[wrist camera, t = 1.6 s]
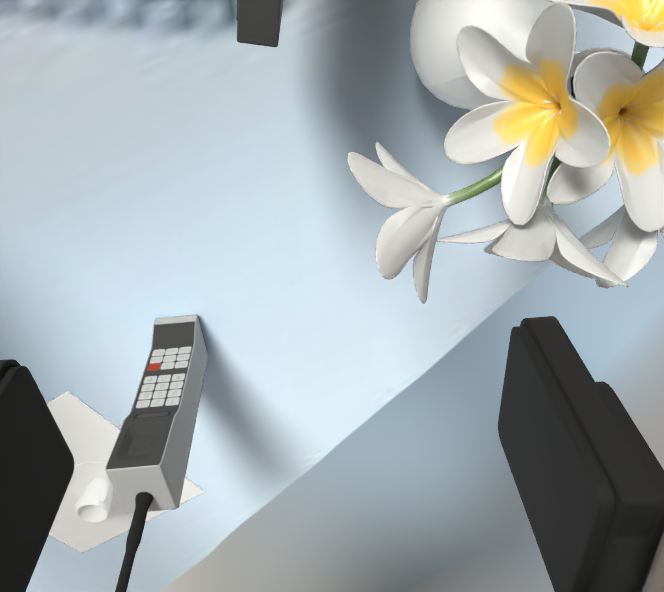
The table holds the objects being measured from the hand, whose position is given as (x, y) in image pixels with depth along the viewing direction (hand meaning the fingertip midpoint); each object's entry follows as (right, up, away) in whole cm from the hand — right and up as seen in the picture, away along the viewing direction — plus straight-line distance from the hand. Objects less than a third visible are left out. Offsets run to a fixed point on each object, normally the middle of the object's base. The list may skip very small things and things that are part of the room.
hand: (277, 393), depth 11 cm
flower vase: (+10, +20, +27) cm, 35 cm away
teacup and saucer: (-27, -19, +52) cm, 61 cm away
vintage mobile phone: (-13, -2, +41) cm, 43 cm away
